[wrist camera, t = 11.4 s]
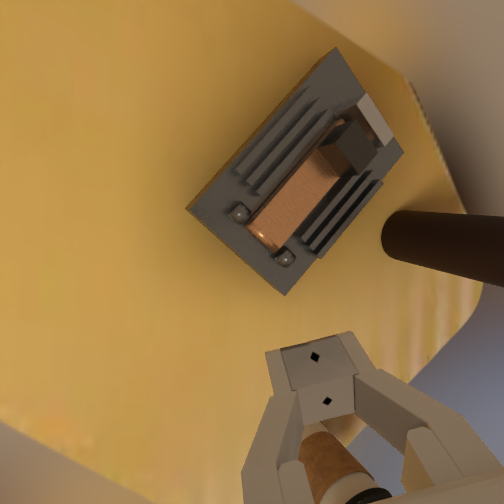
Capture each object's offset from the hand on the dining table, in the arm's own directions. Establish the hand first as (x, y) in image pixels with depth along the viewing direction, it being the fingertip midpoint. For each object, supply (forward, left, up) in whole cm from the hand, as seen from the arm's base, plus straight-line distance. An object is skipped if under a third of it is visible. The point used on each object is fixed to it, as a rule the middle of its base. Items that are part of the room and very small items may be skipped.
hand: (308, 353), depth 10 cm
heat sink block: (-1, +14, -23) cm, 27 cm away
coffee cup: (+31, 0, -23) cm, 39 cm away
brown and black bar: (+2, +6, -18) cm, 19 cm away
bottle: (+13, +25, -23) cm, 36 cm away
